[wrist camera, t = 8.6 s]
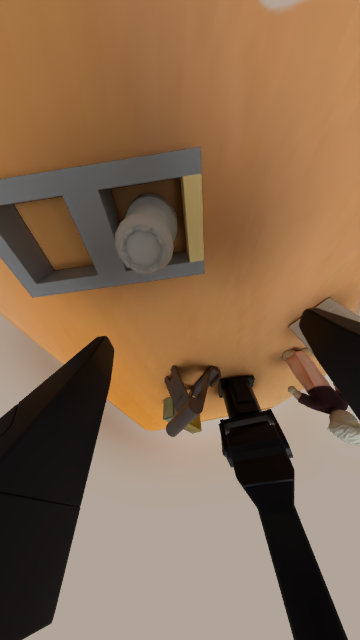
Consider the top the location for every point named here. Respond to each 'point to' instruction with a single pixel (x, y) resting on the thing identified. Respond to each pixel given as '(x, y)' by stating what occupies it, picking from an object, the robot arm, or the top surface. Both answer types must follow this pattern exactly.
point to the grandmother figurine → (322, 396)
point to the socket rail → (98, 221)
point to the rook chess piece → (147, 234)
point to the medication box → (170, 412)
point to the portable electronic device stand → (188, 398)
